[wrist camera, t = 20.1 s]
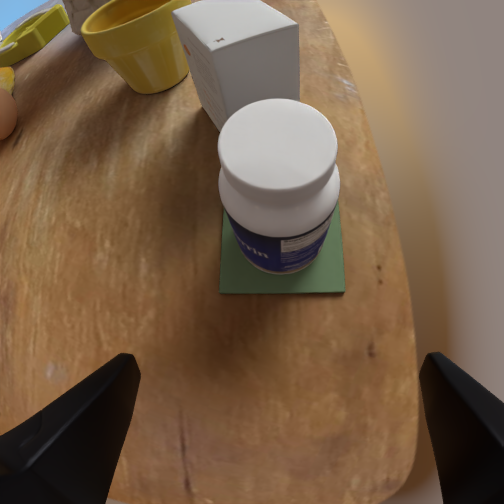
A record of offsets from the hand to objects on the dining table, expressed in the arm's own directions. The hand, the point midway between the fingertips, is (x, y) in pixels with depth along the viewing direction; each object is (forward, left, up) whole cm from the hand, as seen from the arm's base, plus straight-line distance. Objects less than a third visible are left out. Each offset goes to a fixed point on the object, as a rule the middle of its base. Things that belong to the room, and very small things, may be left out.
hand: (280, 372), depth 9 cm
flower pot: (+21, +22, -11) cm, 32 cm away
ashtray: (+33, +68, -11) cm, 76 cm away
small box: (+17, +10, -11) cm, 22 cm away
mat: (+8, +3, -10) cm, 13 cm away
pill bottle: (+8, +3, -10) cm, 13 cm away
